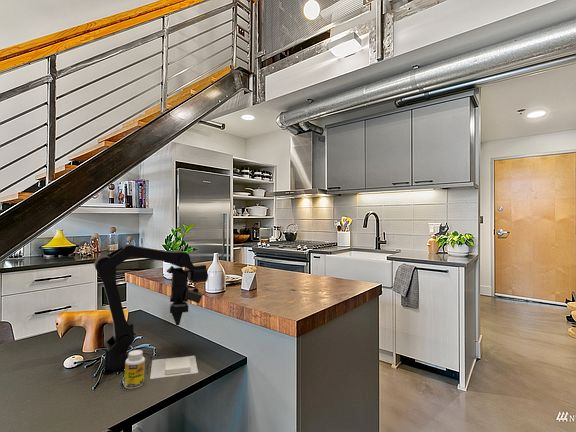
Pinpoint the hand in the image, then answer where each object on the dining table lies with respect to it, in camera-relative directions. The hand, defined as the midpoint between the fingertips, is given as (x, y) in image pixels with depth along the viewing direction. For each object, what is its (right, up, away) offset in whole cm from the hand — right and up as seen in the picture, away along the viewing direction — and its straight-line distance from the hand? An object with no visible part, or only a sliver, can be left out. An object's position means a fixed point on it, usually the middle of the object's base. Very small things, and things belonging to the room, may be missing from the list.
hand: (177, 324), depth 119 cm
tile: (+2, -11, -7) cm, 13 cm away
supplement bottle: (-6, -12, -22) cm, 25 cm away
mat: (+2, -12, -9) cm, 15 cm away
